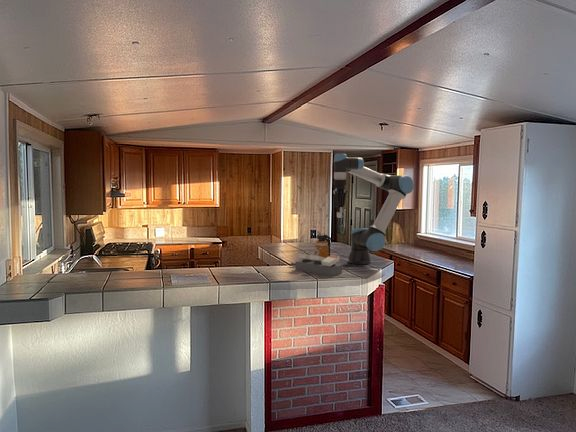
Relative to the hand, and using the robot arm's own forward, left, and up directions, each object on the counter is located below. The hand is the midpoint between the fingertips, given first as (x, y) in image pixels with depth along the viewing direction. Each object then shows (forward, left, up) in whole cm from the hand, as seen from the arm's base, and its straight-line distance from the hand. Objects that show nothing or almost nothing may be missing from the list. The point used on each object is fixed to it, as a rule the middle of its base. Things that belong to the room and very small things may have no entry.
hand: (339, 217), depth 273 cm
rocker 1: (+13, -15, -26) cm, 33 cm away
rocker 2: (+13, -6, -26) cm, 30 cm away
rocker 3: (+13, +3, -26) cm, 29 cm away
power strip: (+13, -10, -32) cm, 36 cm away
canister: (-4, -15, -33) cm, 36 cm away
